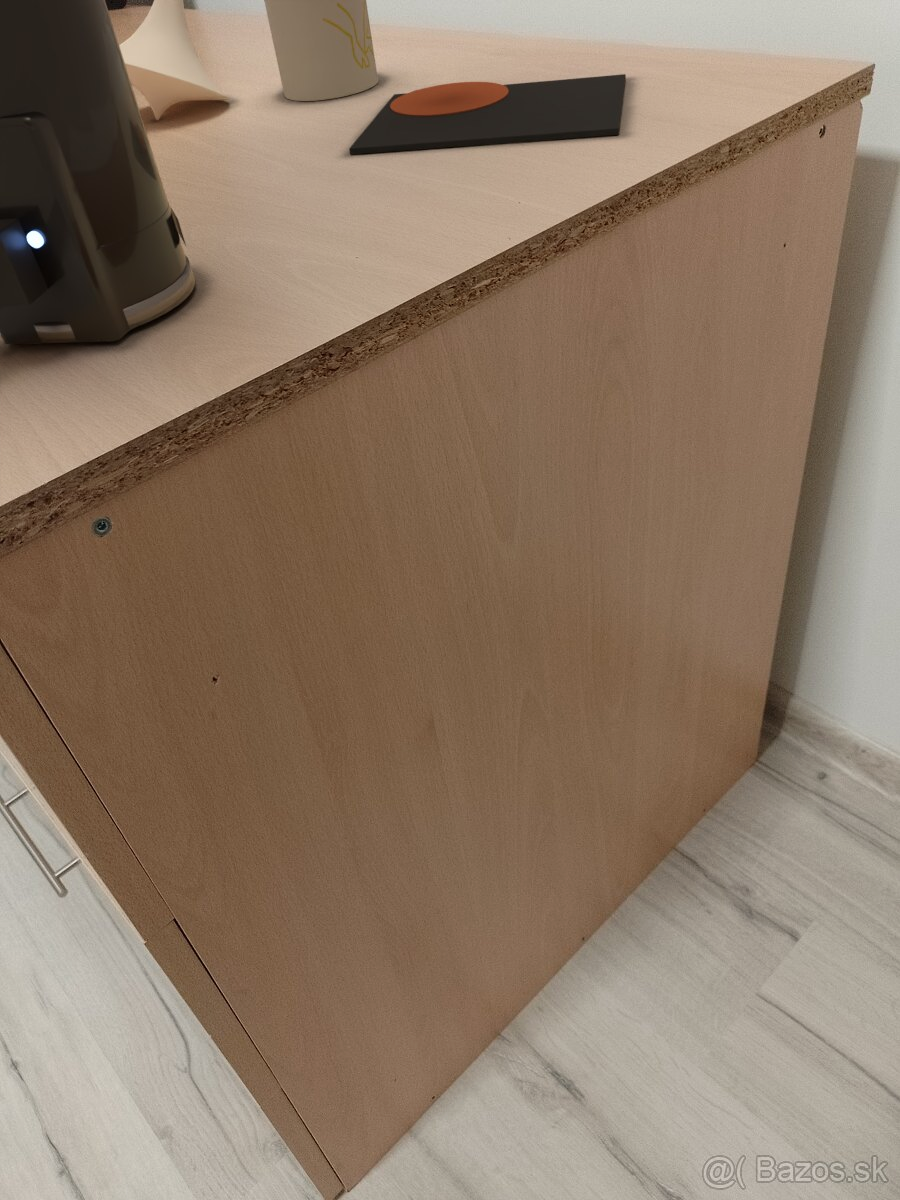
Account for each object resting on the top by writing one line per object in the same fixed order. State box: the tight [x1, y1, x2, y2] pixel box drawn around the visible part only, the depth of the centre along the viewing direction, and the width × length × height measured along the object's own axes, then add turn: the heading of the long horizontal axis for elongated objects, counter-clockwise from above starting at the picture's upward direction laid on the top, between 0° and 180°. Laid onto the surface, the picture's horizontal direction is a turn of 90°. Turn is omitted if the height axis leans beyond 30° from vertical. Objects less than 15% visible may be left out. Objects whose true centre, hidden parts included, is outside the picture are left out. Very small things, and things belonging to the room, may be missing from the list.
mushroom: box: [119, 0, 230, 121], centre depth 73 cm, size 10×11×12 cm
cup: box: [263, 0, 379, 102], centre depth 73 cm, size 8×8×12 cm
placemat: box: [348, 73, 627, 155], centre depth 64 cm, size 16×18×1 cm
